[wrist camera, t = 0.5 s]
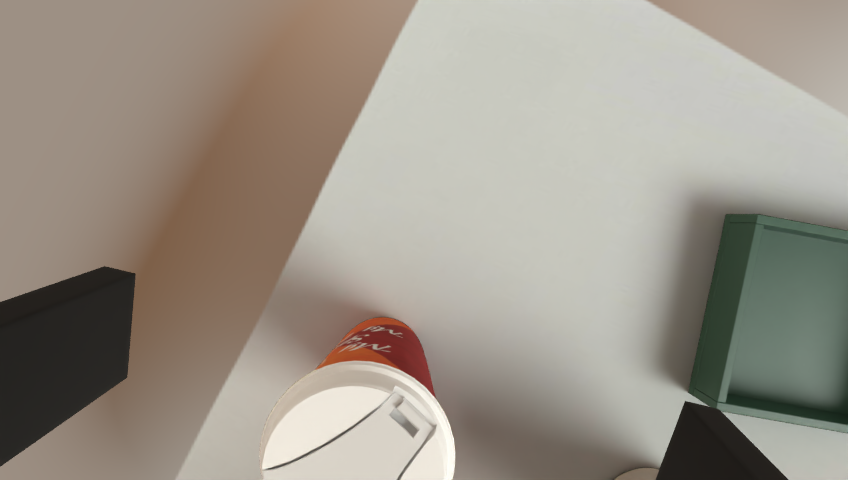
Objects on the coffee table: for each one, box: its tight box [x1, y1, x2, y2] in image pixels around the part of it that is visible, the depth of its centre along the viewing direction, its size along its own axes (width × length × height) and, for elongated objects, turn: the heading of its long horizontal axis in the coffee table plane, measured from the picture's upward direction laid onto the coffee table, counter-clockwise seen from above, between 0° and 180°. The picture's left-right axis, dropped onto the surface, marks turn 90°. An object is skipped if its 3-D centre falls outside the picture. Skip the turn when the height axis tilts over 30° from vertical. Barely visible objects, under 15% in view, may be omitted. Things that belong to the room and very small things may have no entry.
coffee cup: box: [259, 317, 455, 480], centre depth 25 cm, size 8×8×15 cm
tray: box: [688, 214, 848, 433], centre depth 32 cm, size 13×13×3 cm
